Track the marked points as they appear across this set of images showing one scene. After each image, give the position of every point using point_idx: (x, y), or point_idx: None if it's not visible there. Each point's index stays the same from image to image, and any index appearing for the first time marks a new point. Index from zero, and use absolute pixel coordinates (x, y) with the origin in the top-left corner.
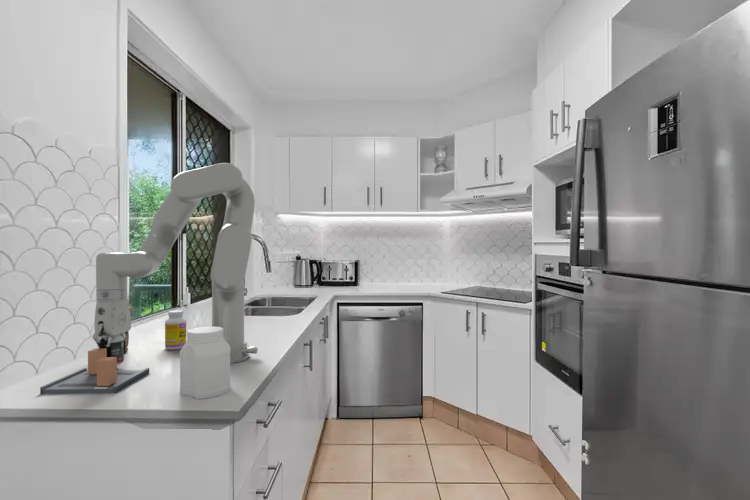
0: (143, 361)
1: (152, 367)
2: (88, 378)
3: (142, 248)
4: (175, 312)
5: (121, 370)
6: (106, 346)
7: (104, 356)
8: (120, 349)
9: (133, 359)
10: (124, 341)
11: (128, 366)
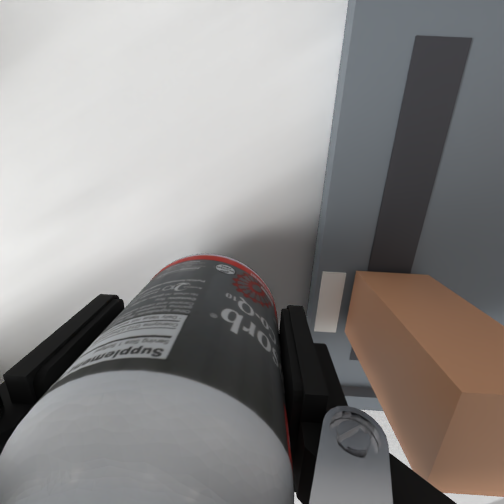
0: (46, 188)
1: (182, 28)
2: (472, 300)
3: None
4: None
5: (338, 187)
6: (371, 429)
7: (443, 332)
8: (208, 307)
9: (18, 275)
10: (26, 373)
11: (163, 229)
